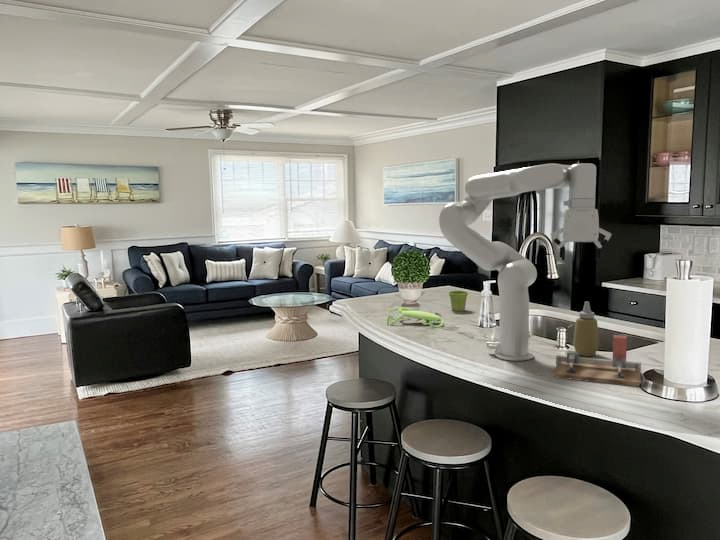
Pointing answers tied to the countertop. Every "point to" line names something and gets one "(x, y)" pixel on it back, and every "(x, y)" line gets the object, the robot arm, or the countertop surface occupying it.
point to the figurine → (417, 316)
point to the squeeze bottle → (586, 332)
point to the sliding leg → (619, 352)
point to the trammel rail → (591, 361)
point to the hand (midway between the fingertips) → (579, 260)
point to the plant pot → (458, 300)
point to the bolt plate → (598, 373)
